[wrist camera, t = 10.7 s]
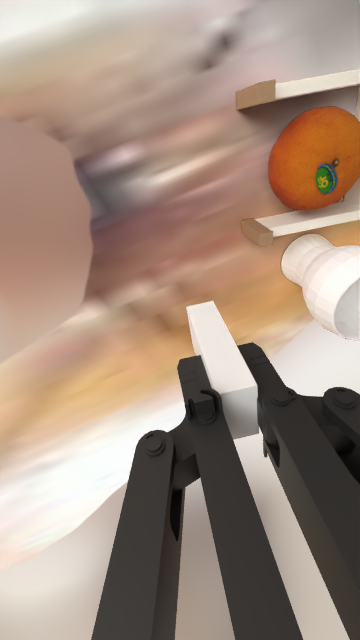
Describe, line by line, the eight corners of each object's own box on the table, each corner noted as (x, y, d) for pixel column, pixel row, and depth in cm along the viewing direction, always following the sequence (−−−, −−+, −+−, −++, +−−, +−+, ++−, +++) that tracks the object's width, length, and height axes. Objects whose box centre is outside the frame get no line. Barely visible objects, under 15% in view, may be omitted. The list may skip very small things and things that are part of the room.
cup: (343, 216, 42) (433, 249, 30) (334, 282, 48) (406, 333, 36) (272, 231, 42) (332, 271, 29) (271, 296, 48) (322, 352, 35)
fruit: (302, 87, 34) (345, 74, 27) (353, 148, 38) (402, 150, 31) (242, 172, 38) (266, 179, 31) (294, 219, 42) (326, 234, 35)
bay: (241, 231, 42) (260, 247, 36) (235, 92, 33) (258, 82, 27) (350, 210, 42) (385, 221, 36) (371, 67, 34) (423, 52, 28)
